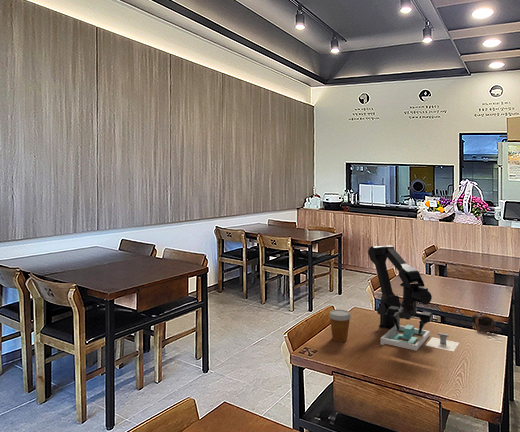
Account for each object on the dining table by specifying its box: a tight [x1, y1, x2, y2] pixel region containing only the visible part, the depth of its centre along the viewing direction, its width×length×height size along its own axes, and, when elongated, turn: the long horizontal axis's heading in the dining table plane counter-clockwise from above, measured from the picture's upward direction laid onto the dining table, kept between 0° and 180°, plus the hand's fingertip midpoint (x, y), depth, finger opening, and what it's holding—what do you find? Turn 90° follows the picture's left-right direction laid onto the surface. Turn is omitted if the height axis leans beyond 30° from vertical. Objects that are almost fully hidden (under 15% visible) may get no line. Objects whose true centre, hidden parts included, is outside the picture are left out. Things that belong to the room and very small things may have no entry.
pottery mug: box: [471, 314, 497, 333], centre depth 201 cm, size 12×10×8 cm
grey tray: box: [380, 324, 431, 352], centre depth 189 cm, size 15×20×3 cm
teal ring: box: [391, 324, 418, 344], centre depth 189 cm, size 9×14×4 cm, turn 145°
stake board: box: [425, 332, 460, 353], centre depth 183 cm, size 11×11×5 cm
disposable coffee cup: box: [328, 309, 352, 343], centre depth 192 cm, size 10×10×12 cm
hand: (408, 332), depth 193 cm, fingers open, 9 cm apart
